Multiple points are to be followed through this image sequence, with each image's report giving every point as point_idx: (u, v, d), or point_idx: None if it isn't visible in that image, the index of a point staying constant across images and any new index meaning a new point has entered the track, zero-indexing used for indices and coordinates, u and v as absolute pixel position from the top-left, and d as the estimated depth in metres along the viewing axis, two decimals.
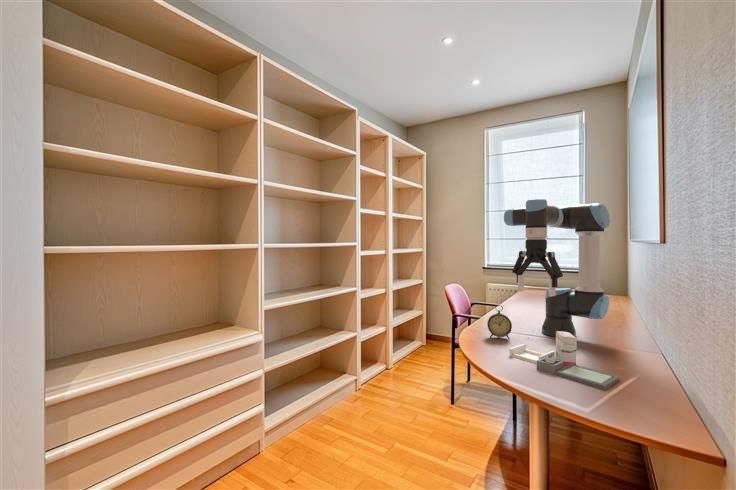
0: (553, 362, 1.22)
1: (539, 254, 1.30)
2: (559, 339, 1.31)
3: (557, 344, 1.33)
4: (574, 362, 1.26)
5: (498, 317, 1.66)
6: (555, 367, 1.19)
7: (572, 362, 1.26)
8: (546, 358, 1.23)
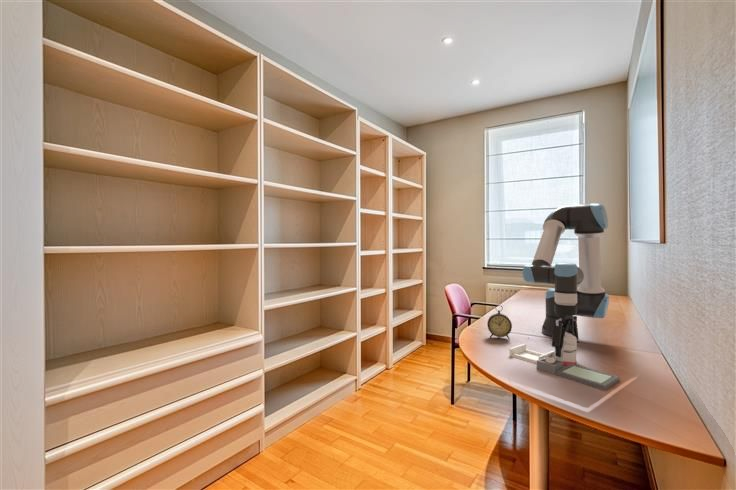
0: (553, 362, 1.22)
1: None
2: None
3: None
4: (574, 362, 1.26)
5: (498, 317, 1.66)
6: (555, 367, 1.19)
7: (572, 362, 1.26)
8: (546, 358, 1.23)
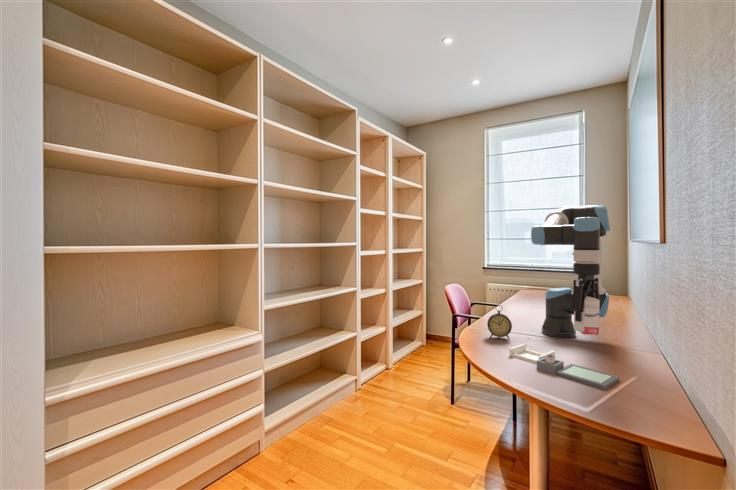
0: (553, 362, 1.22)
1: None
2: None
3: None
4: (597, 327, 1.12)
5: (498, 317, 1.66)
6: (555, 367, 1.19)
7: (595, 328, 1.12)
8: (546, 358, 1.23)
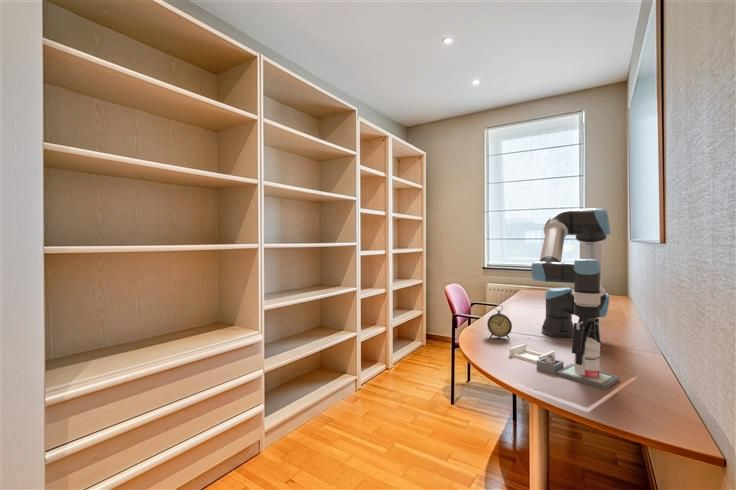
0: (553, 362, 1.22)
1: None
2: None
3: None
4: (597, 371, 1.12)
5: (498, 317, 1.66)
6: (555, 367, 1.19)
7: (595, 371, 1.12)
8: (546, 358, 1.23)
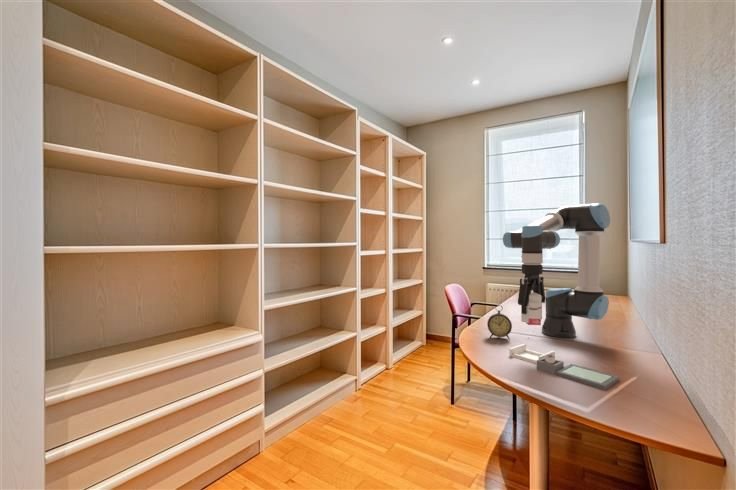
0: (553, 362, 1.22)
1: None
2: None
3: None
4: (539, 319, 1.32)
5: (498, 317, 1.66)
6: (555, 367, 1.19)
7: (537, 319, 1.32)
8: (546, 358, 1.23)
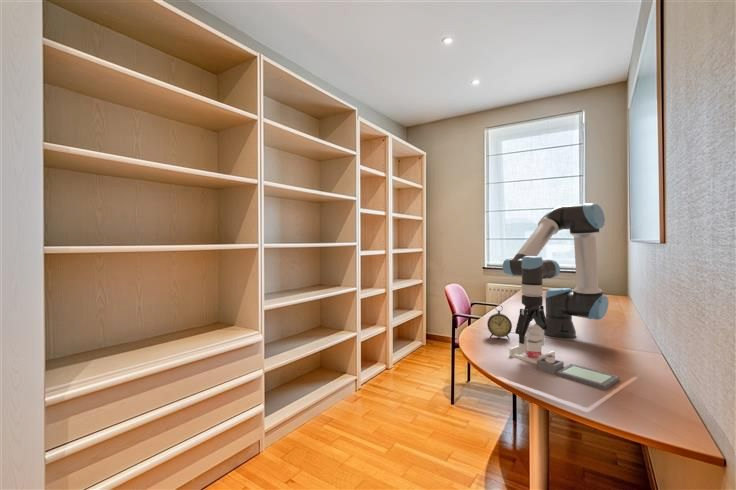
0: (553, 362, 1.22)
1: None
2: None
3: None
4: (539, 352, 1.32)
5: (498, 317, 1.66)
6: (555, 367, 1.19)
7: (538, 352, 1.32)
8: (546, 358, 1.23)
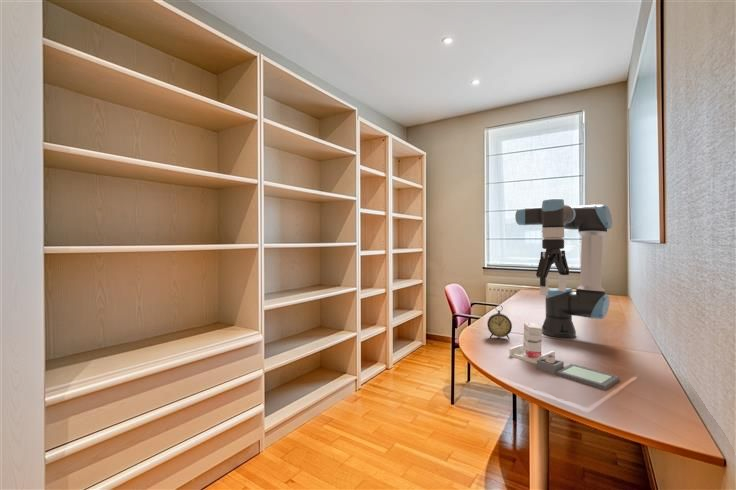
0: (553, 362, 1.22)
1: None
2: (526, 330, 1.36)
3: (524, 335, 1.39)
4: (539, 352, 1.32)
5: (498, 317, 1.66)
6: (555, 367, 1.19)
7: (538, 352, 1.32)
8: (546, 358, 1.23)
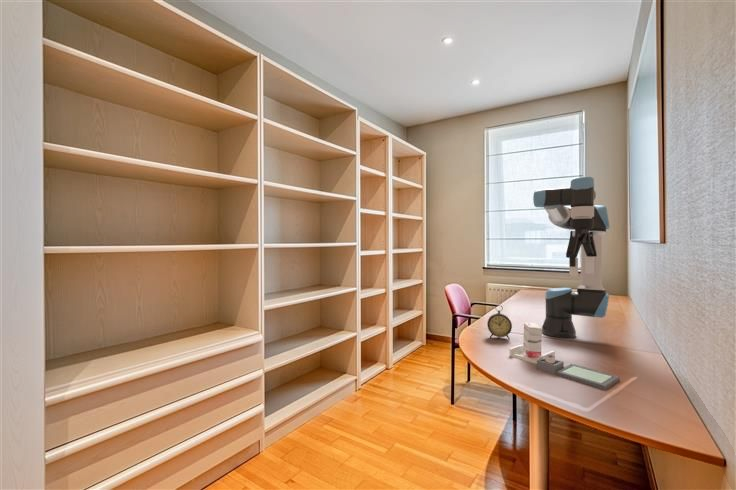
0: (553, 362, 1.22)
1: None
2: (526, 330, 1.36)
3: (524, 335, 1.39)
4: (539, 352, 1.32)
5: (498, 317, 1.66)
6: (555, 367, 1.19)
7: (538, 352, 1.32)
8: (546, 358, 1.23)
